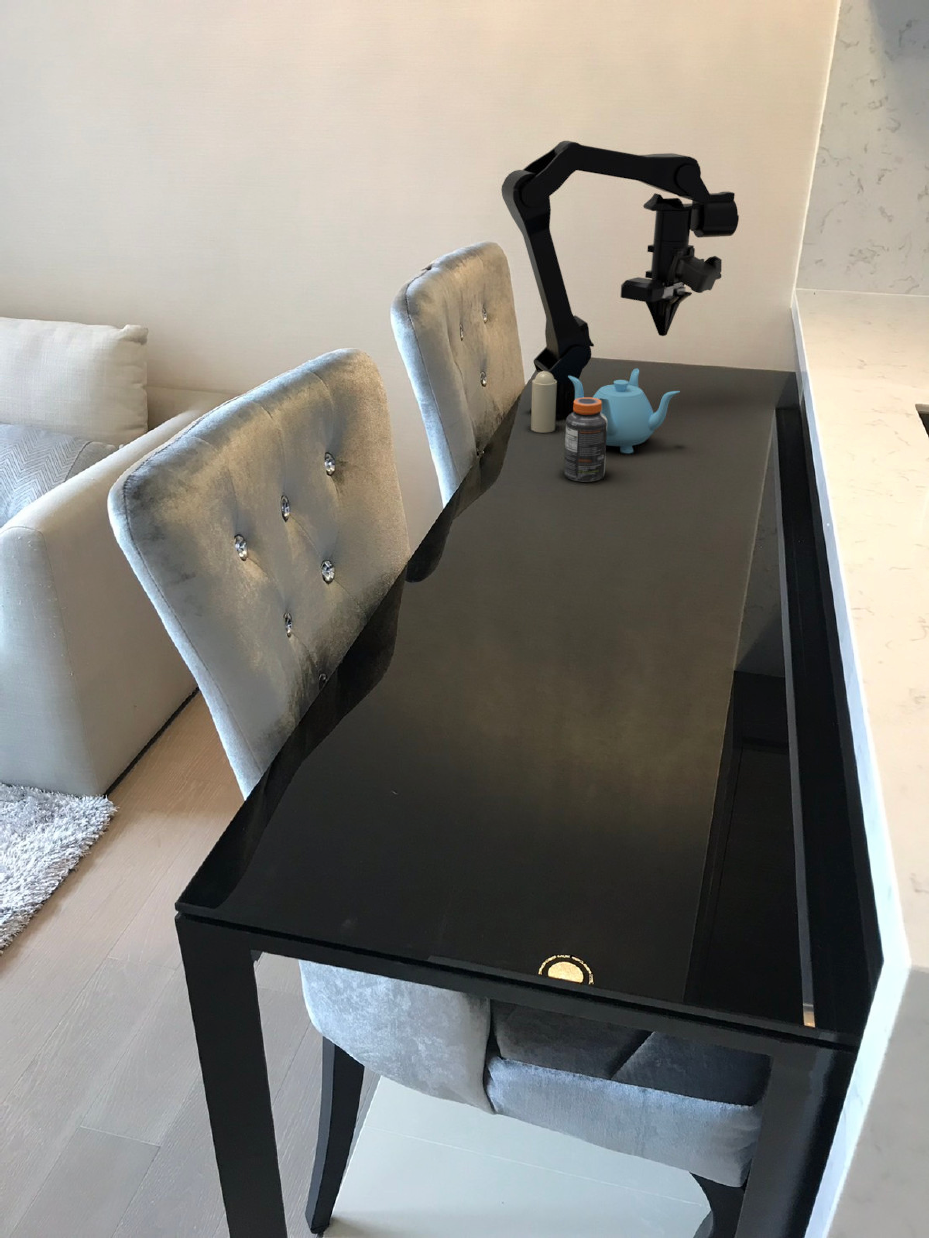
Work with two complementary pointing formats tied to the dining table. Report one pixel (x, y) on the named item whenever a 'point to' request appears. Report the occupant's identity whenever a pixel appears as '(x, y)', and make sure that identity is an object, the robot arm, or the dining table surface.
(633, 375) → the teapot
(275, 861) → the dining table surface
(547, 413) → the salt shaker
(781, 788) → the dining table surface
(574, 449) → the pill bottle
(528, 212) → the robot arm
